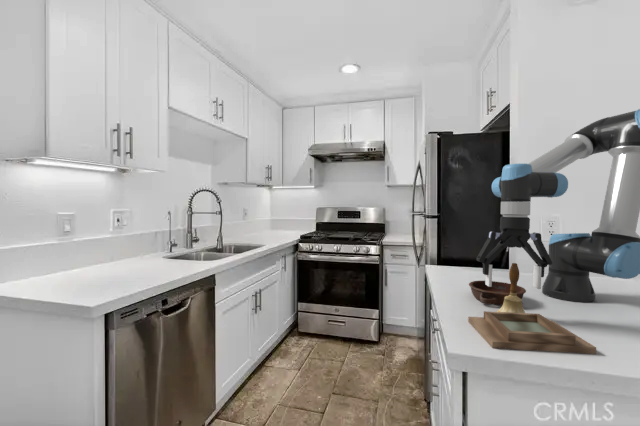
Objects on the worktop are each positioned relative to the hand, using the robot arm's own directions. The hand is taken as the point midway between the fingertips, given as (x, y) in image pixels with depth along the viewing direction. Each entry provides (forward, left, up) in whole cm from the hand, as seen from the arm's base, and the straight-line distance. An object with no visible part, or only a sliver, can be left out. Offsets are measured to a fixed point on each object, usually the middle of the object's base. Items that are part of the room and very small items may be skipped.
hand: (512, 286), depth 93 cm
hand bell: (0, 0, -9) cm, 9 cm away
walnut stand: (+4, +15, -9) cm, 18 cm away
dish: (-2, -16, -9) cm, 19 cm away
